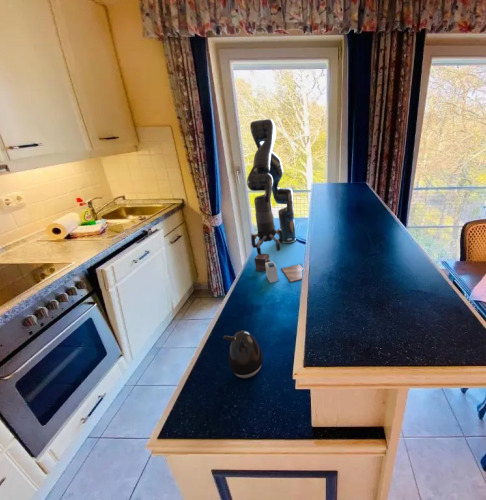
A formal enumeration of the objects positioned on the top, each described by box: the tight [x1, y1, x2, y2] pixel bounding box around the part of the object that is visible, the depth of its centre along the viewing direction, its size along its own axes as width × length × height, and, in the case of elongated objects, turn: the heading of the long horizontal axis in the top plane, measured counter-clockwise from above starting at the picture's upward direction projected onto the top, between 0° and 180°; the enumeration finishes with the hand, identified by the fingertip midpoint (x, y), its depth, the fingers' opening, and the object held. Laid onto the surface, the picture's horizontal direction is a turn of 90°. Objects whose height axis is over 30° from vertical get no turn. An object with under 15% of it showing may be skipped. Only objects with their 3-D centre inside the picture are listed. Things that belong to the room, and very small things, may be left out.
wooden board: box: [281, 263, 304, 283], centre depth 141 cm, size 14×10×1 cm
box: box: [253, 253, 271, 272], centre depth 144 cm, size 6×6×7 cm
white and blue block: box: [265, 260, 279, 284], centre depth 135 cm, size 6×4×9 cm, turn 24°
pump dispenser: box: [223, 329, 264, 379], centre depth 85 cm, size 10×10×15 cm
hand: (268, 252), depth 130 cm, fingers open, 8 cm apart
